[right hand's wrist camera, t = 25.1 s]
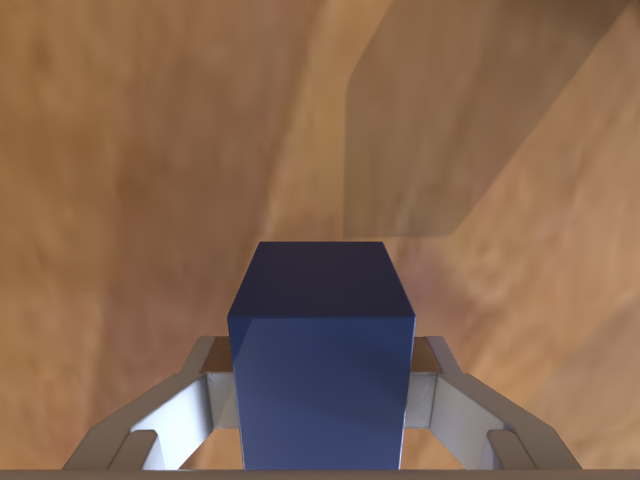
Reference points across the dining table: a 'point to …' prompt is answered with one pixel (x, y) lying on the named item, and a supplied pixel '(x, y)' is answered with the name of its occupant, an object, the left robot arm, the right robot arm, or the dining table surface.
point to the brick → (321, 357)
